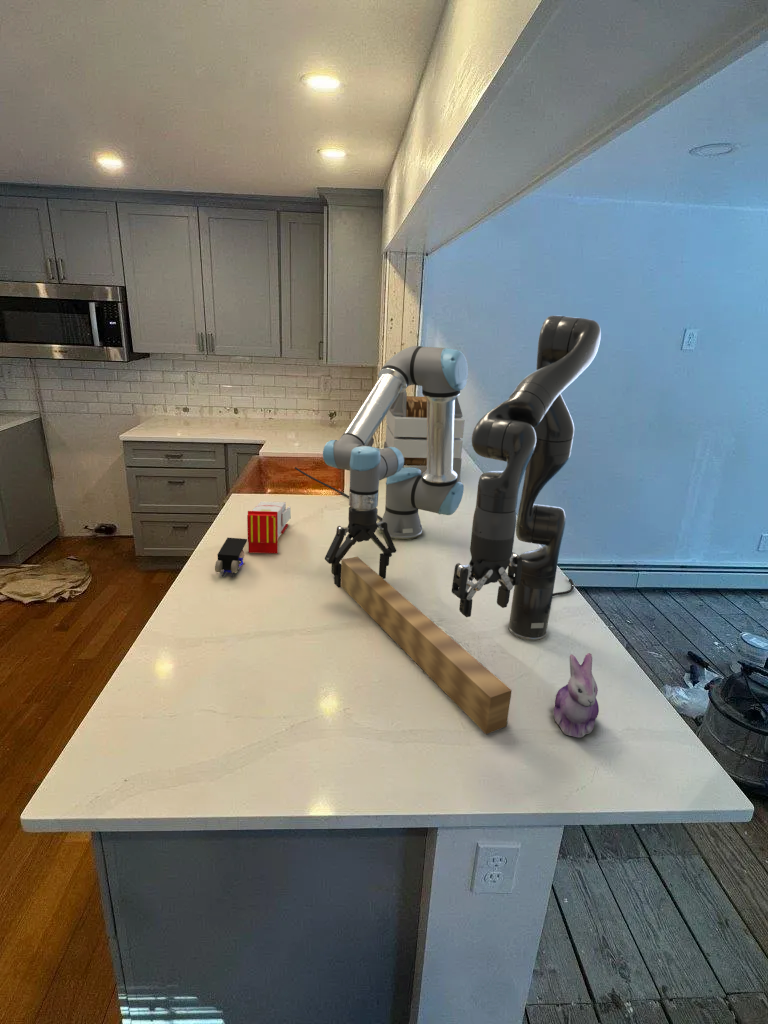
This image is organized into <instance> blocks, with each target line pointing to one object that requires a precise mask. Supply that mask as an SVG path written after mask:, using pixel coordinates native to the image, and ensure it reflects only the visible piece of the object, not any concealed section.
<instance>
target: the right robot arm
mask: <svg viewBox="0 0 768 1024" xmlns="http://www.w3.org/2000/svg"><path fill="white" fill-rule="evenodd" d="M601 337H602V331H601V326H600V323H598V322H597V321H596V320H595V319H594V320H593V319H590V318H584V317H576V316H567V315H553V314H552V315H549V316H547V317H546V318H545V319H544V321H543V323H542V325H541V327H540V331H539V335H538V340H537V350H536V351H537V353H536V370H535V371H533V372H532V373H529V374H528V375H527V376H525V377H524V378H523V379H522V380H521V381H520V382H519V383H518V384H517V386H515V389H514V390H513V391H512V393H511V394H510V395H509V397H508V398H507V399H506V400H504V401H503V402H501V403H500V404H498V405H497V406H495V407H494V408H492V409H491V410H489V411H488V412H487V413H486V414H484V415H483V416H482V417H481V418H480V419H479V420H478V421H477V423H476V425H475V427H474V428H473V431H472V434H471V446H472V449H473V450H474V452H475V453H476V455H478V456H480V457H483V458H485V459H490V460H496V461H502V462H506V467H505V469H504V470H491V471H486V472H484V473H482V474H480V476H479V478H478V483H477V492H476V501H475V508H474V512H473V517H472V527H471V534H470V535H471V537H470V546H469V553H470V557H471V558H470V561H469V563H468V564H461V562H457V563H456V564H455V565H454V571H453V577H452V585H451V593H452V594H453V595H454V596H456V597H457V598H458V599H459V606H458V607H459V609H458V610H459V612H460V613H461V615H462V616H464V617H465V618H471V617H472V609H473V608H472V607H473V598H474V596H475V595H476V593H477V592H479V591H481V590H482V588H483V586H486V585H490V584H491V583H492V584H493V583H494V584H495V583H498V584H499V585H498V589H497V597H496V604H497V605H498V606H499V607H500V608H502V609H504V608H507V607H508V604H509V602H510V596H511V591H512V590H513V593H512V601H511V607H510V614H509V622H508V626H507V629H508V632H509V633H510V634H511V635H512V636H514V637H515V638H517V639H520V640H523V641H529V642H536V641H537V642H539V641H541V640H543V639H545V638H546V637H547V635H548V625H549V620H550V615H551V607H552V601H553V597H555V596H559V595H561V596H562V595H568V594H571V593H572V592H573V591H574V589H575V586H574V581H573V579H572V578H569V579H568V583H569V584H570V589H568V590H566V591H559V592H554V588H555V582H556V578H557V577H556V576H557V569H558V562H559V555H560V550H561V545H562V542H563V537H564V532H565V528H566V520H567V519H566V512H565V510H564V508H562V507H560V506H553V505H546V504H537V503H536V502H535V501H536V500H537V498H538V497H539V494H541V491H542V490H543V489H544V487H546V485H547V484H548V483H549V482H550V481H551V480H552V479H553V478H554V477H555V476H556V475H557V474H558V473H559V472H560V471H561V470H562V469H563V468H564V466H566V464H567V462H568V461H569V459H570V457H571V455H572V448H573V442H574V435H575V424H574V421H573V417H572V415H571V413H570V411H569V408H568V406H567V404H566V402H565V399H564V398H563V395H562V393H563V392H564V390H566V389H567V388H568V387H569V386H570V385H571V384H572V383H573V382H574V381H576V380H577V378H579V376H580V375H581V374H582V373H584V371H586V369H587V368H588V367H589V366H590V365H591V364H592V362H593V361H594V359H595V357H596V356H597V353H598V351H599V347H600V343H601ZM523 477H524V479H523ZM522 480H523V484H522V488H521V489H522V490H521V496H520V499H519V506H518V498H519V493H520V487H521V483H522ZM517 507H518V511H517ZM515 536H516V538H517V540H519V541H520V542H523V543H529V544H535V545H542V547H539V548H536V549H533V550H532V549H531V550H527V551H524V552H521V553H520V555H519V554H517V553H516V552H513V549H514V541H515ZM506 570H507V571H506ZM473 580H475V581H476V583H475V582H473ZM572 585H573V586H572Z"/></svg>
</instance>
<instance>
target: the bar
mask: <svg viewBox="0 0 768 1024" xmlns="http://www.w3.org/2000/svg"><path fill="white" fill-rule="evenodd" d="M340 564H341V587H340V588H342V589H343V590H344V591H345V592H346V593H347V594H348V595H349V596H350V597H351V599H353V600H354V601H355V602H356V603H357V604H358V605H359V606H360V607H361V609H362V610H364V612H366V614H367V615H368V616H369V617H370V618H371V619H372V620H373V621H374V622H375V623H377V625H378V626H379V627H381V629H382V630H383V631H384V632H385V633H386V634H387V635H388V636H389V637H390V638H391V639H392V640H393V641H394V642H395V643H396V644H397V645H398V646H399V648H400V649H402V650H403V651H404V652H405V653H406V654H407V655H408V657H410V658H411V659H412V660H413V661H414V663H415V664H417V666H419V668H420V669H421V670H422V671H423V672H424V673H425V674H426V675H427V676H428V677H429V678H430V679H431V680H432V681H433V682H434V683H435V684H436V685H437V686H438V687H439V688H440V689H441V690H442V691H443V693H445V694H446V695H447V696H448V697H449V698H450V699H451V700H452V701H453V702H454V703H455V704H456V705H457V706H458V708H460V710H462V712H463V713H465V714H466V715H467V717H468V718H470V720H472V722H474V724H475V725H476V726H477V727H478V728H479V729H480V730H481V731H482V732H483V734H485V735H488V734H491V733H493V732H496V731H498V730H501V729H503V728H506V727H507V725H508V719H509V711H510V705H511V698H512V690H513V689H511V688H510V687H509V686H508V685H506V684H505V683H504V682H503V681H502V680H501V679H499V678H498V677H497V676H496V675H495V674H494V673H493V672H491V671H490V670H489V669H488V668H487V667H486V666H484V665H483V664H482V663H481V662H479V660H478V659H476V658H475V657H474V656H473V655H472V654H471V653H469V652H468V651H467V650H466V649H465V648H464V647H462V646H461V645H460V644H459V643H458V642H457V641H456V640H454V639H453V638H452V637H451V636H450V635H449V634H448V633H447V632H445V631H444V630H443V629H442V628H441V627H439V626H438V625H437V624H436V623H435V622H433V620H432V619H430V618H429V617H428V616H427V615H426V614H424V613H423V611H421V610H420V609H418V608H417V607H416V605H414V604H413V603H412V602H411V601H409V599H407V598H406V597H405V596H404V595H403V594H402V593H400V592H399V591H398V590H397V589H396V588H394V587H393V586H392V585H391V584H390V583H389V582H388V581H386V579H383V578H382V577H381V576H379V573H377V572H376V571H375V570H374V569H373V568H372V567H370V566H369V565H368V564H367V563H366V562H364V561H363V560H362V559H361V558H360V557H359V556H353V557H348V558H342V560H341V561H340Z"/></svg>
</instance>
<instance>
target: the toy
mask: <svg viewBox="0 0 768 1024" xmlns="http://www.w3.org/2000/svg"><path fill="white" fill-rule="evenodd" d="M286 505H287V503H286V501H262V500H261V501H260V502H258V503H257V504H256V505H255V506H254V508H253V509H251V510H247V515H246V516H247V517H246V521H247V524H246V527H247V528H246V529H247V548H248V549H247V550H248V553H249V554H278V551H279V548H278V547H279V544H278V543H279V541H278V540H279V538H280V536H281V535H283V534H284V533H285V532H286V530H287V529H288V527H289V523H288V522H289V521H290V520H291V517H292V515H291V514H292V513H291V506H290V505H288V506H287V507H286Z"/></svg>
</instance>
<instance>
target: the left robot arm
mask: <svg viewBox="0 0 768 1024" xmlns="http://www.w3.org/2000/svg"><path fill="white" fill-rule="evenodd" d="M468 365H469V364H468V361H467V358H466V356H465V354H464V353H463V352H462V351H461V350H459V349H455V348H451V347H437V346H435V347H434V346H421V345H413V346H408V347H405V348H403V349H401V350H400V351H398V352H397V353H395V354H394V355H392V356H391V358H389V359H388V360H387V361H386V362H385V363H384V364H383V365H382V367H381V369H380V370H379V371H378V374H377V378H378V379H377V381H376V382H375V384H374V385H373V387H372V389H371V391H370V392H369V393H368V395H367V396H366V398H365V399H364V402H363V403H362V404H361V406H360V407H359V409H358V410H357V412H356V413H355V415H354V416H353V418H352V419H351V421H350V423H349V424H348V426H347V428H346V429H345V430H344V432H343V433H342V435H341V436H340V437H339V439H330V440H329V441H326V443H325V445H324V446H323V450H322V459H323V461H324V464H325V465H326V466H328V467H332V468H335V469H337V470H346V471H349V490H348V492H349V493H348V494H346V493H345V492H343V491H340V490H339V489H337V488H335V487H333V486H331V485H329V484H327V483H325V482H323V481H321V480H319V479H317V478H315V477H313V476H311V475H310V474H307V473H306V472H304V471H302V470H301V469H299V468H298V467H296V466H295V467H294V470H296V471H297V472H299V473H301V474H302V475H304V476H306V477H308V478H309V479H311V480H313V481H315V482H316V483H319V484H320V485H323V486H325V487H327V488H329V489H330V490H333V491H335V492H337V493H339V494H340V495H342V496H344V497H346V498H348V506H349V507H348V517H347V518H348V524H347V526H341V525H337V527H336V531H335V532H336V533H335V535H334V538H333V540H332V542H331V544H330V546H329V548H328V550H327V552H326V555H325V556H324V560H325V562H326V563H328V564H329V565H331V574H332V575H333V584H334V585H335V586H336V587H337V588H342V587H341V560H342V559H344V557H345V556H346V554H347V553H349V551H350V550H351V548H352V547H353V546H354V545H355V544H356V543H362V542H369V541H370V540H371V541H372V542H373V543H374V544H375V545H376V546H377V548H378V549H379V550H380V551H381V552H380V553H379V563H378V564H379V565H378V575H379V576H381V577H382V578H383V579H384V580H386V579H387V567H389V565H390V558H391V557H392V556H393V553H396V552H397V548H396V545H395V544H394V541H393V540H395V541H410V540H415V539H418V538H420V537H421V536H422V535H423V525H422V524H421V518H420V515H419V510H421V511H426V512H429V513H433V514H434V513H435V514H438V515H443V516H444V515H445V516H452V515H453V514H454V513H456V511H457V510H458V508H459V506H460V504H461V502H462V499H463V496H464V488H465V487H464V483H462V482H461V481H460V482H457V473H456V472H455V471H454V470H453V449H454V414H455V398H456V397H457V398H458V397H459V396H460V395H461V391H462V390H464V389H465V388H466V386H467V383H468V378H469V367H468ZM409 386H419V387H421V395H422V397H425V398H427V466H426V470H424V471H423V472H422V470H421V468H419V467H414V466H411V467H409V466H406V467H404V468H402V467H403V465H404V458H403V455H402V453H401V452H400V451H399V450H398V449H397V448H395V447H386V448H384V447H383V448H381V447H374V446H372V447H369V446H367V445H368V443H369V441H370V440H371V438H372V437H373V438H374V435H375V434H376V432H377V430H378V429H379V427H380V426H381V423H382V422H383V421H384V419H385V418H386V414H387V412H388V411H389V409H390V408H391V406H392V404H393V403H394V401H395V400H396V398H397V396H398V395H399V393H402V392H404V391H405V390H406V391H407V388H408V387H409ZM404 466H405V465H404ZM384 479H386V480H385V504H384V505H385V507H384V508H385V509H384V513H383V515H382V517H381V516H380V515H378V512H379V511H378V510H379V509H378V504H379V489H380V488H379V487H380V481H382V480H384ZM378 520H379V521H378ZM377 521H378V522H377ZM377 530H378V533H379V534H380V535H381V536H382V538H383V540H384V542H385V545H386V546H387V547H386V546H385V545H384V543H383V542H382V541H381V540H380V538H379V537H378V536H377V534H375V533H376V531H377ZM347 533H348V534H347ZM345 536H346V537H345ZM344 539H345V540H344Z"/></svg>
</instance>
